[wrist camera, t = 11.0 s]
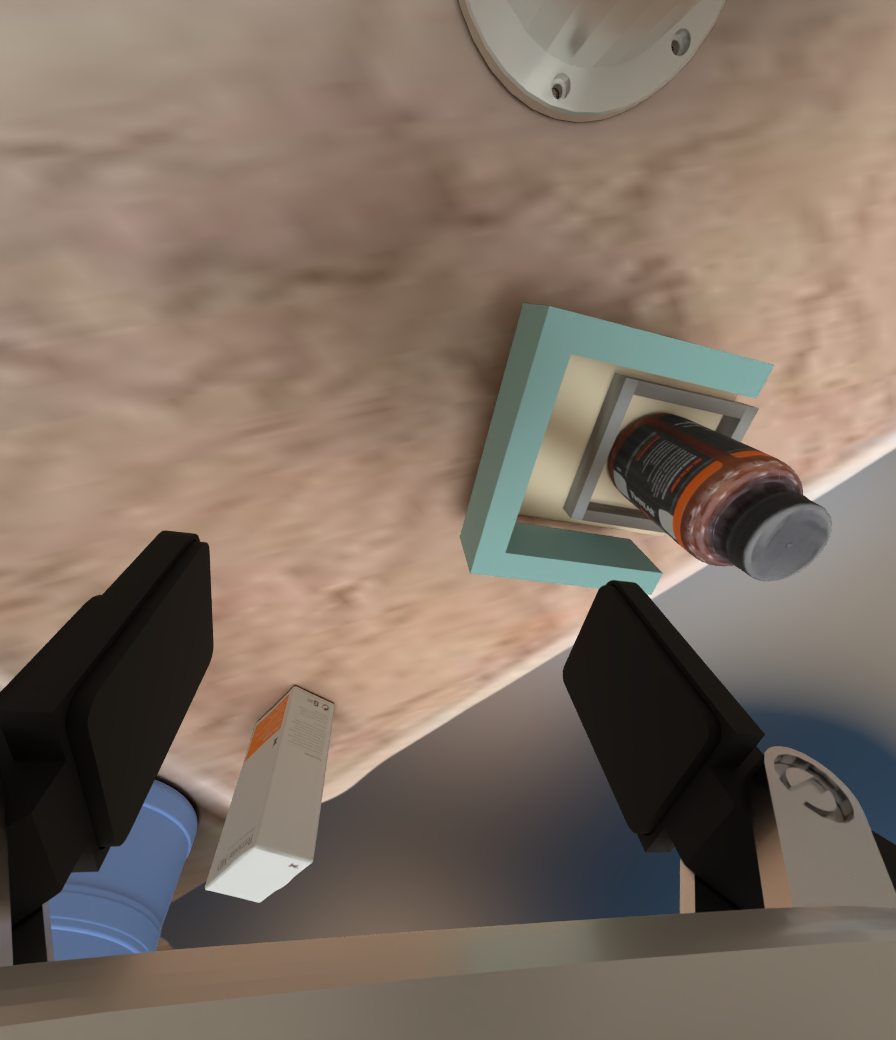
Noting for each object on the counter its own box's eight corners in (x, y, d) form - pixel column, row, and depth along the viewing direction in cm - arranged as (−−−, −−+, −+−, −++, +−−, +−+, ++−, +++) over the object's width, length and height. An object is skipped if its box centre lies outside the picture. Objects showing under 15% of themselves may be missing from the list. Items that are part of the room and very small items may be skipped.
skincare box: (293, 682, 36) (255, 846, 25) (336, 702, 38) (316, 863, 27) (252, 723, 38) (200, 892, 27) (295, 740, 39) (261, 905, 29)
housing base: (559, 340, 26) (576, 346, 23) (735, 384, 28) (767, 392, 26) (507, 505, 30) (517, 524, 28) (661, 529, 33) (682, 548, 31)
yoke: (523, 302, 22) (549, 305, 18) (717, 353, 24) (774, 364, 20) (459, 537, 28) (470, 573, 24) (620, 558, 30) (651, 594, 27)
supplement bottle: (596, 497, 30) (702, 603, 20) (616, 409, 27) (751, 482, 17) (677, 495, 30) (818, 597, 20) (704, 410, 27) (883, 481, 18)
